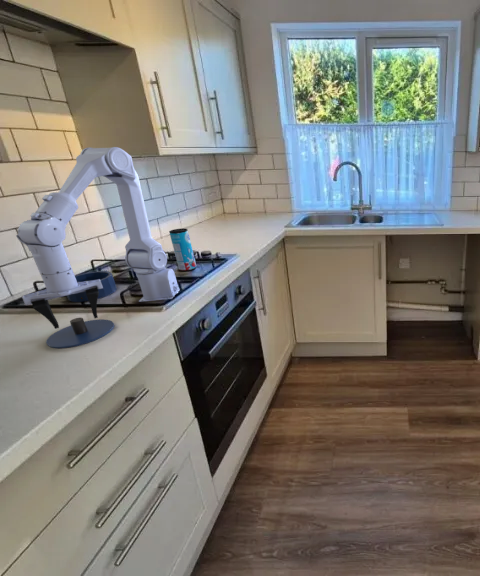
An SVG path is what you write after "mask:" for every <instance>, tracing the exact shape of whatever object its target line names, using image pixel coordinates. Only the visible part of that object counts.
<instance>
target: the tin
mask: <svg viewBox="0 0 480 576" xmlns="http://www.w3.org/2000/svg"><path fill="white" fill-rule="evenodd" d="M75 278H76V280H77V282H85V281H92V280H98V279H100V281H101V284H102V286H103V288H101V289H98V291H99V296H98V300H99V299H102V298H105V297H108V296H111V295H112V294H113V293H115V292H116V291H117V290H118V289H117V284H116V282H115V278H114V276H113V273H112V272H110V271H108V270H106V269H105V270H98V271H90V272H85V273H84V272H83V273H80V274H76V275H75ZM65 297H66V298H67V299H68V301H70V302H73V303H81V302H82V303H83V302H84V303H85V302H89V300H88V298H87V295H86V291H84V292H80V293H75V294H71V295H66V296H65ZM81 297H82V298H83V299H81Z"/></svg>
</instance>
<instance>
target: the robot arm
mask: <svg viewBox="0 0 480 576" xmlns="http://www.w3.org/2000/svg"><path fill="white" fill-rule="evenodd" d="M75 161H76V163H75V164H74V167H73V168H72V170H71V172H70V173H69V175H68V176H67V178H66V179H65V181H64V183H63V184H62V186H61V188H60V189H59V191H58V192H57V191H56V192H50V193H49V194H44V195H43V197H42V198H41V200H43V201H42V202H41V204H40V205H39V207H38V208H37V209H36V211H35V212H31V215H30V219H27V220H24V221H23V222H21V223H20V224H19V225H18V229H17V234H15V236H16V238H17V240H18V241H19V242H21V243H22V244H24V245H25V246H26V247H27V249H28V250H29V252H30V253H31V256H32V258H33V260H34V264H35V265H36V267H37V270H38V272H39V274H40V277H41V279H42V282H43V284H44V286H45V289H41V290H39V291H35V292H31V293H28V294H23V295H22V297H21V299H22V301H23V303H24V305H25V306H30V305H32V308H33V309H34V310H35V311H36V312H37V313H38V314H41V315H42V316H43V317H44V318H46V319H47V320H48V321H49V323H50V324H51V325H52V326H53V327H54V329H55V330H56V329H59V328H60V325H59V322H58V320H57V317H56V316H55V314H54V312H53V310H52V308H51V305H50V303H49V300H51V299H57V298H62V297H67V296H66V295H71V294H75V293H80V292H84V291H86V295H87V298H88V300H89V301H88V303H89V306H90V308H91V313H92V316H93V319H98V318H99V317H98V310H97V307H98V301H99V299H98V296H99V291H98V289H101V288H103V286H102V284H101V281H100V279H98V280H92V281H85V282H77V280H76V278H75V276H76V275H75V273H74V270H73V268H72V265H71V262H70V260H69V257H68V255H67V252H66V249H65V247H64V245H63V241H64V240H66V235H67V234H66V228H67V225H68V224H69V222H70V221H71V219H72V218H73V217H74V215H75V214H76V212H77V210H78V209H79V204H78V202H77V200H78V199H79V197H81V195H82V194H84V192H85V190H87V188H88V187H89V186H90V184H91V183H92V182H93V181H94V179H96V178H99V177H104V178H106V179H108V180H109V181H111V182H112V183H113V184H115V185H116V188H117V192H118V196H119V200H120V204H121V208H122V209H121V210H122V212H123V216H124V220H125V221H124V222H125V225H126V229H127V234H128V237H129V241H128V242H127V243H126V244H125V246H124V249H125V255H124V256H125V257H124V261H125V263H126V265H127V266H128V267H129V268H131V269H132V270H133V272H134V273H135V274H136V277H137V280H138V284H139V287H140V290H141V293H142V297H141V298H140V299H139V300H138V302H141V303H142V302H152V301H161V300H172V299H173V298H174V297H175V295H176V294H178V293H179V292H180V291H181V288H180V287H179V285H178V280H177V277H176V273H175V270H174V269H173V268H166V265H167V263H168V257H167V254H166V252H165V251H164V249H163V245H162V244H161V243H160V242H159V241H157V240H156V239H155V238H153V236H152V231H151V227H150V222H149V219H148V213H147V208H146V203H145V199H144V196H143V191H142V186H141V180H140V178H139V175H138V172H137V171H136V169H135V167H134V162H133V158H132V155H131V154H129V153H128V152H127V151H126V150H124V149H123V148H120V147H117V146H112V147H85V148H83V149H82V150H81V152H80V154H78V155H76V157H75Z"/></svg>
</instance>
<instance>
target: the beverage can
mask: <svg viewBox="0 0 480 576" xmlns="http://www.w3.org/2000/svg"><path fill="white" fill-rule="evenodd" d="M168 232H169V236H170V240H171V244H172V248H173V251H174V255H175V259H176V263H177V267H178V270H179V271H180V272H191V271H194V270H196V269H197V263H196V259H195V254H194V250H193V245H192V242H191V237H190V234H189V231H188V228H174V229H171V230H169V231H168Z"/></svg>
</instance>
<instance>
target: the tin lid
mask: <svg viewBox="0 0 480 576" xmlns="http://www.w3.org/2000/svg"><path fill="white" fill-rule="evenodd" d="M69 324H70V325H68V326H66V327H63V328H61V329H59V330H57V331H55V332H54V333H52V334H51V335H50V336H49V337H48V338H47V339H46V346H48V347H49V348H52V349H69V348H74V347H79V346H82V345H87V344H88V343H92V342H95V341H97V340H100V339H101V338H104V337H105V336H107V335H108V334H110V333H111V332H112V331H113V330H114V328H115V323H114V321H112V320H111V319H104V318H103V319H101V318H100V319H91V320H86V321H85V319H84V318H83V317H76V318H75V317H74V318H72V319H71V320H70V321H69Z"/></svg>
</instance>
